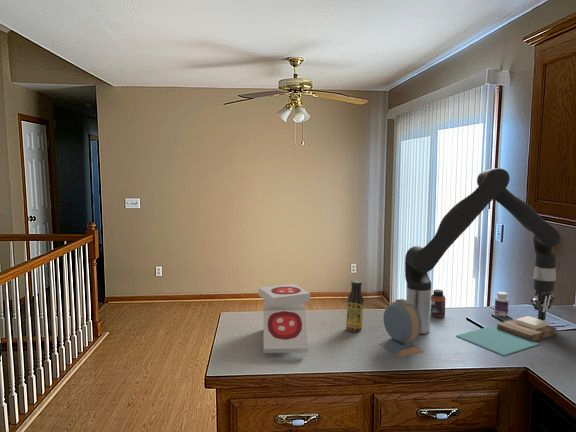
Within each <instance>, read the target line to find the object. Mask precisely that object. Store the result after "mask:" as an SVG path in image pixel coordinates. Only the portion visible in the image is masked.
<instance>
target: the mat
mask: <svg viewBox="0 0 576 432" xmlns="http://www.w3.org/2000/svg"><path fill="white" fill-rule="evenodd" d="M455 337H457V338H459V339H462V340H464V341H466V342H469V343H471V344H474V345H475V346H478V347H480V348H484V349H486V350H488V351H490V352H493V353H495V354H498V355H500V356H503V357H506V356H509V355H511V354H512V355H513V354H515V353H518V352H520V351H524V350H527V349H531V348H534V347H536V346H539V345H540V344H539V343H538V342H536V341H530V340H527V339H524V338H522V337H519V336H516V335H513V334H510V333H508V332H505V331H502V330H499V329H497V327H493V326H490V325H489V326H487V327H482V328H480V329H475V330H471V331H468V332H465V333H464V332H463V333H460V334H456V336H455Z"/></svg>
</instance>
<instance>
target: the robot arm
mask: <svg viewBox="0 0 576 432" xmlns="http://www.w3.org/2000/svg"><path fill="white" fill-rule="evenodd" d="M510 178H511V177H510V174H509V172H508V171H507V170H506V169H503V168H499V167H497V168H496V167H495V168H489V169H485V170H483V171H481V172H480V173H479V174H478V176H477V178H476V184H477V186H478V187H477V188H475V189H474V191H473V192H471V193H470V194H469V195H467V196H466V197H464V198H463V199H461V200H459V202H458V203H456V204H454V206H453V207H452V208H451V209H450V210H449V211H448V212H447V213H446V214H445V215H444V216H443V217H442V219H441V221H440V223H439V226H438V228H437V231H436V233H435V234H434V237H432V239H431V240H430V241H429V242H427V244H426V245H424V246H419V245H418V246H417V245H414V246H411V247H410V248H408V250H407V252H406V253H405V258H404V274H405V275H404V276H405V282H406V299H405V300H406V301H408V302H409V303H410V304H412V305H413V306H414V307H415V308H416V309H417V310H418V312H419V314H420V317H421V322H422V326H421V331H420V333H419V335H424V334H428V333H430V329H431V328H430V327H431V296H432V282H431V279H430V277H429V275H428V274H429V273H428V272H430V271H432V270H433V269H434V268H435V267H436V265H437V264H438V263H439V261H440V260H441V258H442V257H443V256H444V254H445V253H446V252H447V250H448V249H449V248H450V247H451V246H452V245H453V244H454V243H455V241H456V240H457V239H458V238H459V237H461V235H462V234H463V233H465V231H466V230H467V229H468V228H469V227H470V226H471V224H472V223H473V222H474V220H475V219H476V218H477V217H478V216H479V215H480V214H482V212H483V211H484V209H485V208H486V207H487V206H488V205H489V204H490V203H491V202H492V201H493V200H494V201H496V202H497V203H498V204H499V205H501V207H503V208H504V209H505V210H506V211H508V212H509V213H510V214H511V215H512V216H513V218H515V219H516V220H517V222H519V224H520V225H522V227H524V228H525V229H526V230H528V231H529V232H531V233H533V245H534V253H535V263H534V270H533V280H532V282H533V283H532V288H533V290H535V294H534V298H530V303H531V304H532V307H533V309H534V310H535V311H537V319H540V320H543V321H546V317H547V312H548V310H550V309H551V307H552V304H553V302H554V300H555V298H556V297H555V296H554V295H553V294H552V292H554V291H555V289H556V279H557V278H556V275H557V272H556V269H557V268H556V266H557V265H556V264H557V256H556V254H555V253H554V251H553V248H556V247H558V246H559V245H560V243H561V242H562V236H561V233H560V232H559V231H558V230H557V229H556V228H555V227H554V226H553V225H551V224H550V223H549V222H548V221H546V220H545V219H543V218H542V217H541V215H540V214H539V213H538V212H537V211H536V210H535V209H534V208H533V207H532V206H531V205H529V204H528V203H526V202H525V201H523V200H522V199H521V198H519V197H517V196H516V195H515V194H513V193H512V192H510V190H508V188H507V187H508V186H509V183H510Z"/></svg>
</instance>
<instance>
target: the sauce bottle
mask: <svg viewBox="0 0 576 432" xmlns="http://www.w3.org/2000/svg"><path fill="white" fill-rule="evenodd" d="M362 284H363V282H362V280H356V279H354V280H353V279H352V280H351V291H350V293H349V294H348V297H347V303H346V304H347V306H346V319H345V320H346V325H345V326H346V327H345V328H346V329H345V330H347V331H348V332H351V333H359V332H361V331H362V327H363V319H364V318H363V315H364V313H363V311H364V298H363V295H362Z"/></svg>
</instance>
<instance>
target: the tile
mask: <svg viewBox="0 0 576 432" xmlns="http://www.w3.org/2000/svg"><path fill="white" fill-rule="evenodd" d="M521 317H522V318H521ZM521 317H517V318H518V319H517V318H515V319H516V322H515V323H517V324H520V325H523V326H526V327H529V328H532V329H538V328H542V327H545V326H547V325H548V323H549V322H548V321H546V320H544V321H543V320H540V319H538V318H536V317H533V316H529V315H526V316H521Z"/></svg>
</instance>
